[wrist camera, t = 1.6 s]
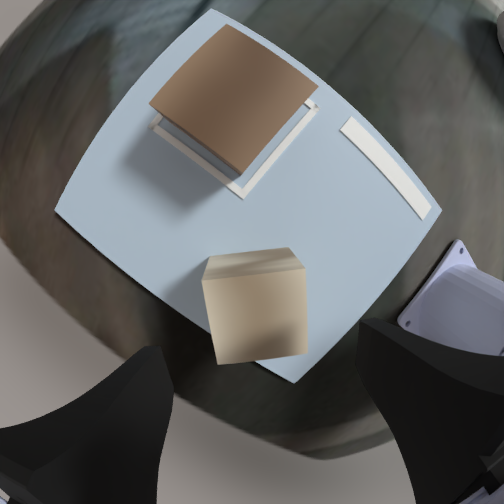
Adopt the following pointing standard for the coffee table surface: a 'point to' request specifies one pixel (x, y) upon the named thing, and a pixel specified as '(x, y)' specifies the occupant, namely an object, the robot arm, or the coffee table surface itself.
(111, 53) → the coffee table surface
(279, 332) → the maple block
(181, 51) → the board
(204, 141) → the walnut base
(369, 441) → the coffee table surface
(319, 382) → the coffee table surface
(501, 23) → the teacup
